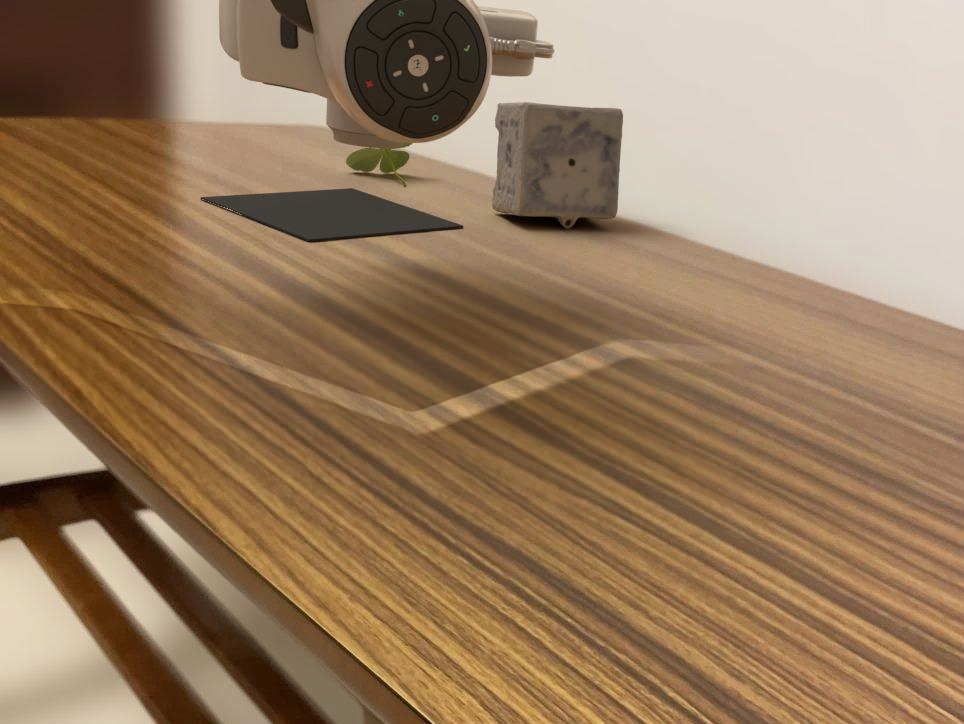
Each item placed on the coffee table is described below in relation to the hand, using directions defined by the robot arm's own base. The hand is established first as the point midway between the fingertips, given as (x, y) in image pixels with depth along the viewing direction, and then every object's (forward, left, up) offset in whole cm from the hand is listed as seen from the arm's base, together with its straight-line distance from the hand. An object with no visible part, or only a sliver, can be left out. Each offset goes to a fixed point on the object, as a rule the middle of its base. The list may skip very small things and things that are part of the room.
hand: (372, 19), depth 85 cm
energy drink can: (0, -1, -8) cm, 8 cm away
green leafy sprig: (+15, +32, -17) cm, 39 cm away
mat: (+4, +16, -17) cm, 23 cm away
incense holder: (+24, +13, -17) cm, 32 cm away
